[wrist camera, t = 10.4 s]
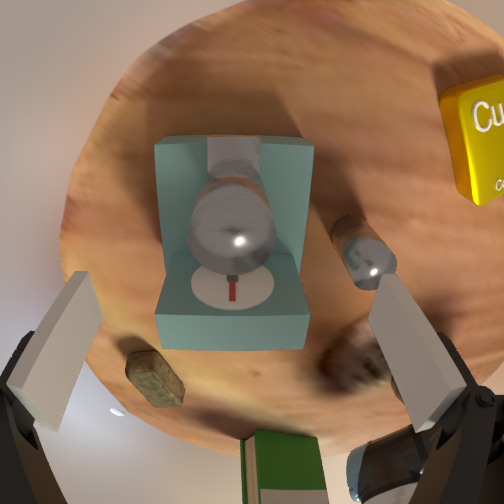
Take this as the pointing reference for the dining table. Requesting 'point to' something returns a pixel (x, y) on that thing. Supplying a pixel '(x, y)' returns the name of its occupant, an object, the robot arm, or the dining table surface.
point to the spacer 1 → (232, 221)
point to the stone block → (154, 379)
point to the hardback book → (282, 469)
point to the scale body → (233, 286)
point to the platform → (233, 149)
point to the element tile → (476, 136)
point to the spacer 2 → (362, 251)
